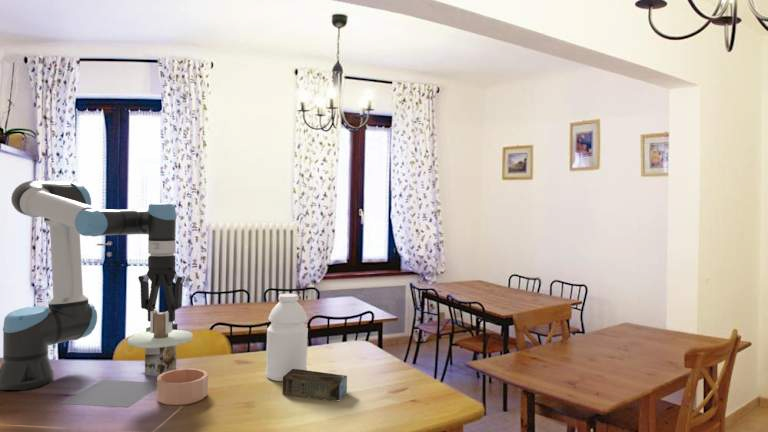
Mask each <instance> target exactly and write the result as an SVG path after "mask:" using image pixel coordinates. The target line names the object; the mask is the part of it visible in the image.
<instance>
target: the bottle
mask: <svg viewBox="0 0 768 432" xmlns="http://www.w3.org/2000/svg"><path fill="white" fill-rule="evenodd" d="M298 301H299V295H298V294H296V293H281V294H279V295H278V303H276V304H275V305H274V307H272V309H271V311H270V313H269V316H268V321H269V322H270V325H269V326H268V327H267V328H266V356H265V357H266V359H265V360H266V362H265V363H266V364H265V365H266V367H265V376H266V377H267V378H268V379H269V380H272V381H275V382H283V376H284V375H286V374H287V373H288V372H290V371H291V370H292V369H299V370H307V371H308V368H307V363H308V362H307V360H308V359H307V358H308V335H309V334H308V332H309V328H308V326H307V325H306V324H305V323H306V321H307V320H308V316H307V313H306V310H305V309H304V307H303V306H302V305H301V304H300V303H299V302H298Z"/></svg>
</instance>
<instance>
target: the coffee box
mask: <svg viewBox="0 0 768 432" xmlns="http://www.w3.org/2000/svg"><path fill="white" fill-rule="evenodd" d="M172 330H178V323H172ZM145 332H150V326H149V327H146V329H145ZM144 350H145V351H144V352H145V353H144V375H147V376H153V377H154V376H156V377H158V376H159V375H161V374H162V373H164V372H168V371H171V370H176V369H177V354H178V353H177V350H178V345H175V346H170V347H161V348H144Z"/></svg>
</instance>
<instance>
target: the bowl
mask: <svg viewBox="0 0 768 432" xmlns="http://www.w3.org/2000/svg"><path fill="white" fill-rule="evenodd" d="M208 379H209V374H208V372H207V371H206V370H203V369H199V368H189V367H188V368H176V369H174V370H171V371H168V372H164V373H162V374H161V375H159V376H156V382H157V387H156V401H157V402H159V403H161V404H163V405H168V406H169V405H171V406H173V405H174V406H180V405H182V406H189V405H191V404H195V403H198V402H200V401H201V400H203V399H204V398H205V397H206V396H208V392H209V391H208V387H209V386H208V385H209V384H208V383H209V382H208V381H209V380H208Z"/></svg>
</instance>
